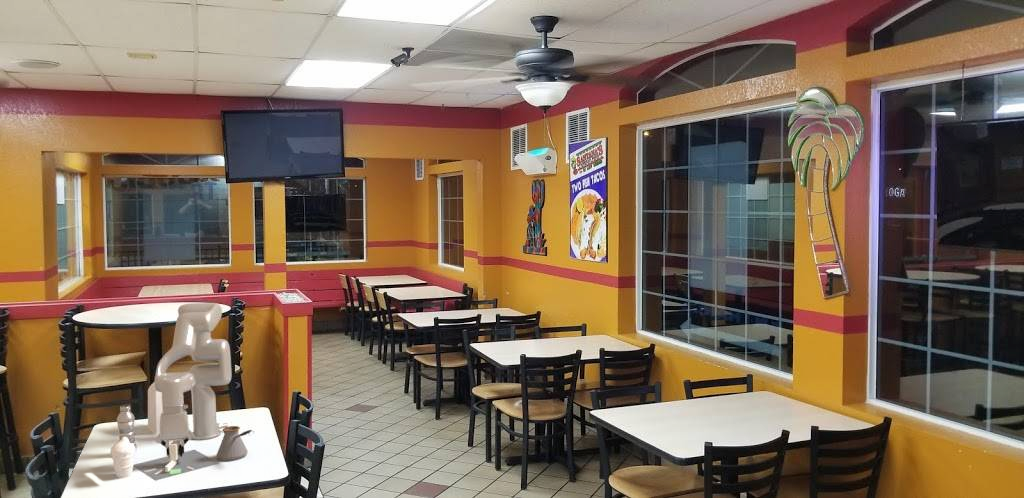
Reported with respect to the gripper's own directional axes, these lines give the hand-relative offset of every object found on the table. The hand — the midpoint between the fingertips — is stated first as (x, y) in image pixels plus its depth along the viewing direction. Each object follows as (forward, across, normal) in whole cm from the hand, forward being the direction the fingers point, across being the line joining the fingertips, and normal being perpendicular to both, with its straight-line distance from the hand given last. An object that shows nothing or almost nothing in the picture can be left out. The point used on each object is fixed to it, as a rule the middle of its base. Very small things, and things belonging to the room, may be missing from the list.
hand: (175, 455), depth 289 cm
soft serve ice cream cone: (+5, +17, +5) cm, 19 cm away
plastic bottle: (+5, +19, -27) cm, 33 cm away
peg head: (+3, +1, +3) cm, 5 cm away
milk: (+5, +6, -58) cm, 59 cm away
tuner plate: (+5, 0, 0) cm, 5 cm away
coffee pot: (+5, -23, +4) cm, 24 cm away
